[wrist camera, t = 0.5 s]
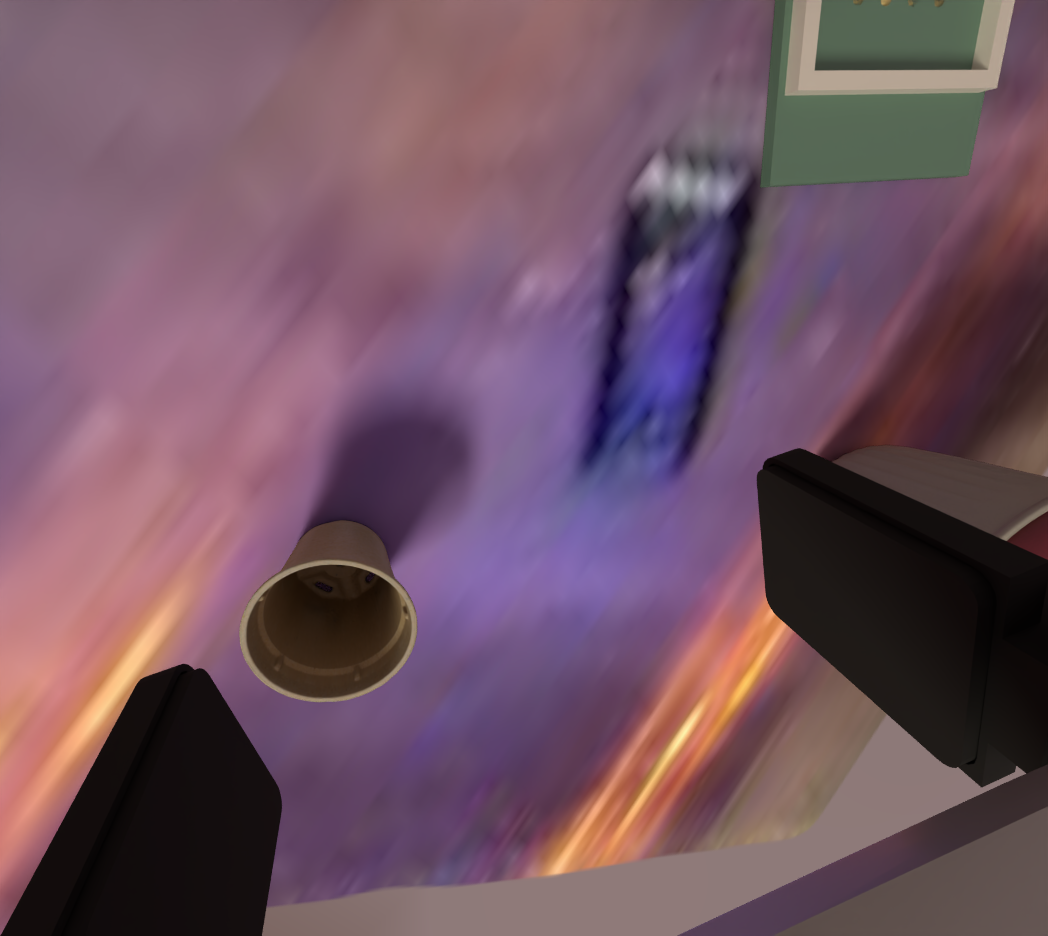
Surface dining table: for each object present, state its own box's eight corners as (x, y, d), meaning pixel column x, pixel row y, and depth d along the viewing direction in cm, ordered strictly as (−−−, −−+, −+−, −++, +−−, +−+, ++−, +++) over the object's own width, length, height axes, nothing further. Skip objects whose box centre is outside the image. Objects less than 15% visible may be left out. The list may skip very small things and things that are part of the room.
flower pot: (262, 615, 39) (235, 705, 31) (270, 490, 36) (242, 555, 29) (399, 618, 42) (406, 701, 34) (416, 502, 39) (428, 564, 31)
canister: (965, 469, 51) (1318, 596, 32) (842, 626, 54) (1097, 826, 35) (846, 370, 44) (1206, 458, 25) (713, 556, 48) (943, 760, 28)
